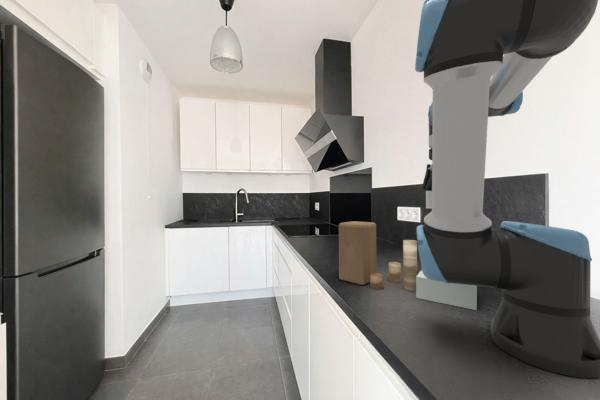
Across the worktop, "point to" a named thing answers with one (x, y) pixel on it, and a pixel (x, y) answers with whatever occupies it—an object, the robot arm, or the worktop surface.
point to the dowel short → (376, 281)
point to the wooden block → (357, 251)
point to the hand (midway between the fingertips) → (441, 208)
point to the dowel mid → (395, 272)
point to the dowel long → (409, 264)
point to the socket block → (446, 292)
